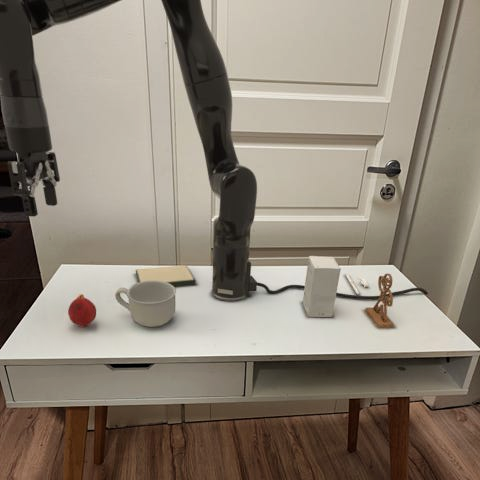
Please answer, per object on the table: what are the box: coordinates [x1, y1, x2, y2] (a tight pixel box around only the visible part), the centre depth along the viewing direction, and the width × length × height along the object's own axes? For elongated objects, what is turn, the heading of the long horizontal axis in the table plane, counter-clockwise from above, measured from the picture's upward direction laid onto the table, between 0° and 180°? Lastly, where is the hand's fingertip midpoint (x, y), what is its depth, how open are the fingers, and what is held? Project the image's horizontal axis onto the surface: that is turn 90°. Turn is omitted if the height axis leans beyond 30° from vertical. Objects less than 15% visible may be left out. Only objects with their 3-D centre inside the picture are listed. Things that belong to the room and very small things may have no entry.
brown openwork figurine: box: [364, 273, 395, 329], centre depth 104 cm, size 9×4×12 cm, turn 7°
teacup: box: [114, 280, 177, 328], centre depth 99 cm, size 14×11×8 cm
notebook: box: [135, 264, 197, 288], centre depth 121 cm, size 15×11×2 cm
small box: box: [302, 255, 341, 318], centre depth 106 cm, size 8×6×13 cm
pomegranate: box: [67, 293, 97, 328], centre depth 95 cm, size 6×6×8 cm
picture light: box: [345, 273, 369, 296], centre depth 124 cm, size 14×4×2 cm, turn 1°
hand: (42, 210), depth 88 cm, fingers open, 8 cm apart
